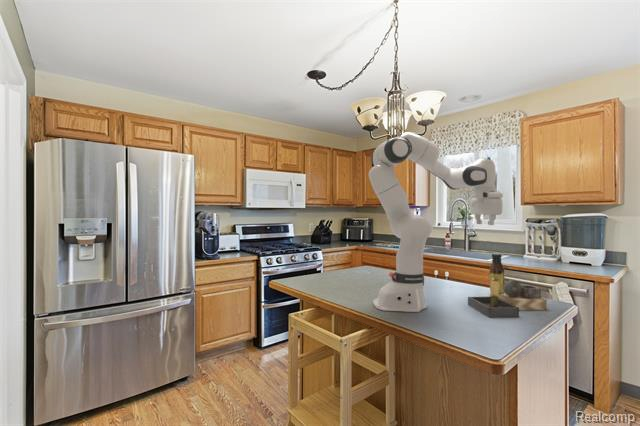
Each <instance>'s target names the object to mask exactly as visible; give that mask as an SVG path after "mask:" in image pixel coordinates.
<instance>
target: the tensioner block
mask: <svg viewBox="0 0 640 426" xmlns="http://www.w3.org/2000/svg"><path fill="white" fill-rule="evenodd" d="M503 291H504V294H499V299H501V300H503V301H505V302H508V303H510V304H512V305H514V306H516V307H518V308H519V311H533V310H535V311H536V310H541V311H543V310H547V307H548V306H547V305H548V304H547V301H548V300H547V299H546V298H543V297H542V289H541V288H540V287H537V286H534V285H529V284H527V285H526V284H521V283H520V282H519V281H517V280H514V279H508V280H505V283H504V285H503Z"/></svg>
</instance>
